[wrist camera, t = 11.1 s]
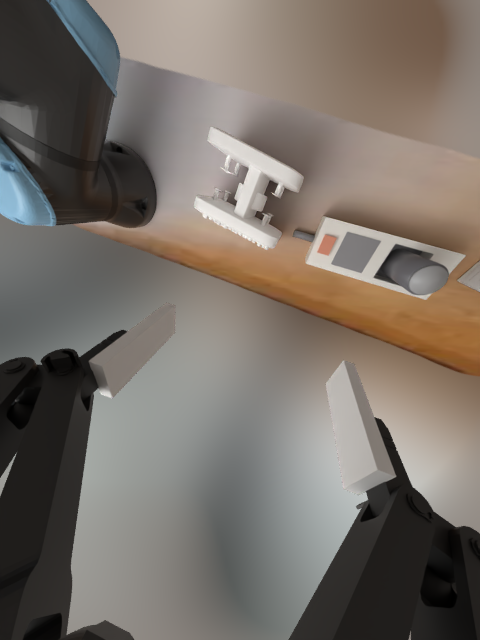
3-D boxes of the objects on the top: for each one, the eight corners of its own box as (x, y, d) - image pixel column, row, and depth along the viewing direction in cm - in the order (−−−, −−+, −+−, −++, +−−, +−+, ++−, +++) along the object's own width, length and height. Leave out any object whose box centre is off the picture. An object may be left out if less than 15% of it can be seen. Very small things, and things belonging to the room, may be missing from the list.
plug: (380, 252, 34) (409, 267, 25) (412, 246, 32) (455, 260, 23) (378, 276, 36) (405, 298, 27) (408, 272, 34) (446, 294, 25)
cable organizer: (307, 185, 33) (311, 176, 23) (277, 242, 39) (270, 254, 29) (232, 145, 33) (206, 120, 23) (214, 209, 39) (186, 209, 29)
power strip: (286, 252, 39) (285, 258, 35) (301, 210, 35) (302, 210, 31) (413, 290, 37) (428, 301, 33) (446, 249, 32) (469, 256, 28)
